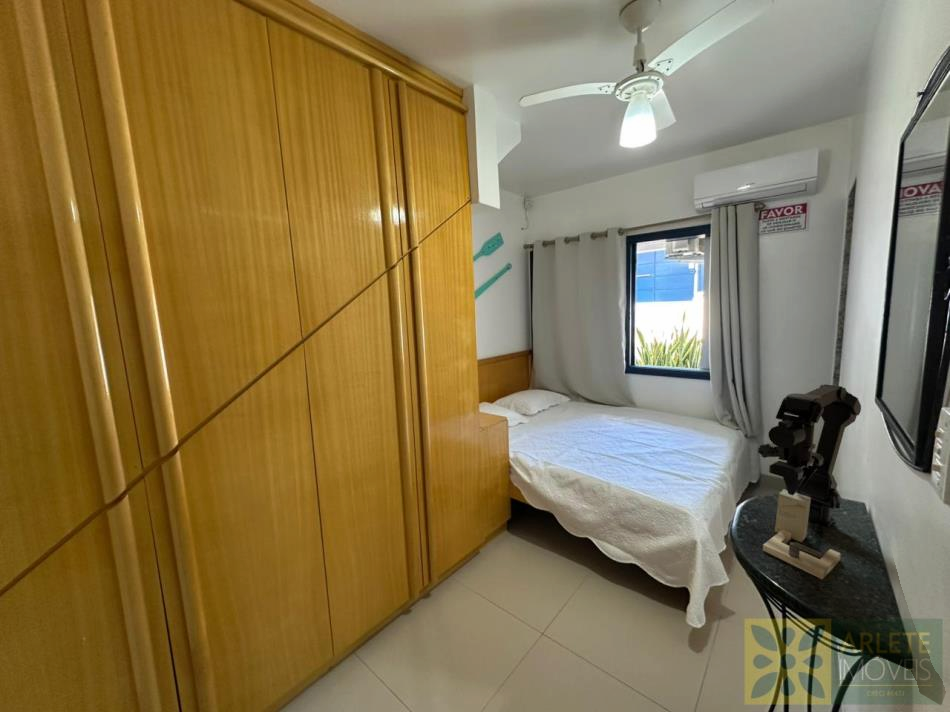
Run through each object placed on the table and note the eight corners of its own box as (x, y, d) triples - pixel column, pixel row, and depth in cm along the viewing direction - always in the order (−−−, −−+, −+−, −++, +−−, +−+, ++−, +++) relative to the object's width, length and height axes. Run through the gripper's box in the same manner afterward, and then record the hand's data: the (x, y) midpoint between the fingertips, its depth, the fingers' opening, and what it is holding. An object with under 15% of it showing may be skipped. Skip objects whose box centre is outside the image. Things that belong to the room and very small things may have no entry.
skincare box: (774, 531, 103) (777, 493, 102) (779, 526, 106) (782, 488, 104) (802, 543, 98) (806, 502, 97) (807, 536, 101) (811, 497, 99)
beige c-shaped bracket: (781, 535, 102) (783, 517, 101) (839, 560, 91) (842, 540, 90) (762, 551, 96) (764, 532, 95) (822, 579, 85) (824, 558, 85)
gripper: (777, 425, 110) (774, 472, 112) (749, 438, 101) (745, 489, 103) (826, 435, 100) (821, 487, 102) (799, 451, 91) (794, 507, 93)
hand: (794, 492), depth 100 cm, fingers open, 4 cm apart
